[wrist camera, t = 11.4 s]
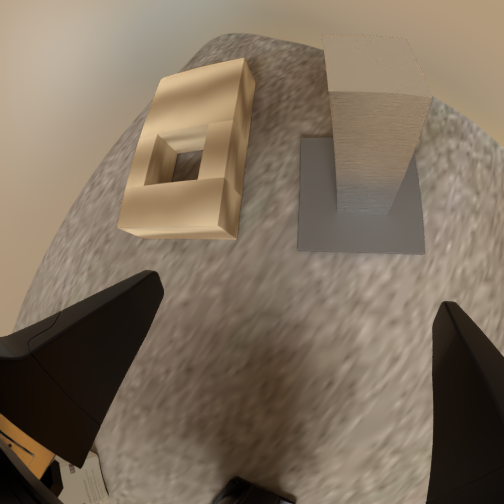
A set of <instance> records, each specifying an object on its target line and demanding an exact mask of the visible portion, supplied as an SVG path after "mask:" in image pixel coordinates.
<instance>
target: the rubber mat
mask: <svg viewBox="0 0 504 504" xmlns="http://www.w3.org/2000/svg"><path fill="white" fill-rule="evenodd" d="M297 249H298V251H321V252H355V253H388V254H420V255H423V254H424V253H425V240H424V225H423V213H422V203H421V194H420V187H419V180H418V173H417V167H416V161H415V156H414V153H413V155H412V158H411V160H410V163H409V165H408V168H407V170H406V173H405V175H404V178H403V180H402V182H401V185H400V187H399V189H398V192H397V194H396V196H395V199H394V201H393V203H392V205H391V207H390V210H389V212H388V214H382V213H354V212H337V185H336V166H335V151H334V139H333V137H317V138H301V173H300V204H299V227H298V246H297Z"/></svg>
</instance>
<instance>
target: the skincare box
mask: <svg viewBox="0 0 504 504" xmlns="http://www.w3.org/2000/svg"><path fill="white" fill-rule="evenodd" d="M55 459H56V460H57V461H58V462H59V465H60V471H61V477H62V482H63V487H64V489H63V490H62V492H61V494H60V495H59V497H58V499H60V500H61V501H62V502H63V503H64V504H96V503H99V502H101V501H103V500H105V499H107V498H108V494H107V491H106V489H105V485H104V482H103V478H102V475H101V470H100V465H99V459H98V456H97V454H95V453H93V452H91V451H89V453H88V456H87V458H86V460H85V463H84V465H83V467H82V468H81V469H79V468H77V467H75V466H74V465H72V464H70V463H68V462H67V461H65V460H63V459H62V458H60V457H58V456H57V455H56V457H55Z"/></svg>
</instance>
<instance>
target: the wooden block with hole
mask: <svg viewBox="0 0 504 504" xmlns="http://www.w3.org/2000/svg"><path fill="white" fill-rule="evenodd" d="M254 91H255V80H254V78H253V76H252V74H251V71H250V69H249V67H248V65H247V63H246V60H245V58H240V59H235V60H230V61H225V62H220V63H216V64H211V65H207V66H203V67H199V68H195V69H192V70H188V71H184V72H181V73H178V74H174V75H171V76H168V77H165V78H162V79H161V81H160V84H159V86H158V89H157V91H156V94H155V96H154V99H153V101H152V104H151V107H150V109H149V112H148V115H147V118H146V121H145V124H144V127H143V130H142V133H141V136H140V139H139V142H138V145H137V149H136V152H135V155H134V159H133V162H132V166H131V169H130V173H129V177H128V181H127V185H126V189H125V193H124V197H123V201H122V206H121V210H120V215H119V220H118V225H117V228H119V229H121V230H124V231H126V232H129V233H131V234H133V235H136V236H138V237H141V238H143V239H237V237H238V227H239V218H240V209H241V200H242V191H243V182H244V173H245V164H246V156H247V147H248V139H249V131H250V123H251V115H252V107H253V99H254ZM198 150H203V154H202V159H201V164H200V170H199V175H198V180H189V181H179V182H172V178H173V173H174V168H175V164H176V159H177V155H178V154H179V153H185V152H192V151H198Z"/></svg>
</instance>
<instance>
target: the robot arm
mask: <svg viewBox="0 0 504 504" xmlns="http://www.w3.org/2000/svg"><path fill="white" fill-rule="evenodd" d="M163 296H164V289H163V286H162V283H161V280H160V277H159V275H158V273H157V272H156V271H152V270H145V271H142V272H140V273H138V274H136V275H134V276H132V277H130V278H128V279H125V280H123V281H121V282H119V283H117V284H115V285H113V286H111V287H109V288H107V289H105V290H103V291H100V292H98V293H96V294H94V295H92V296H90V297H88V298H86V299H84V300H82V301H80V302H78V303H76V304H74V305H72V306H70V307H68V308H66V309H64V310H62V311H60V312H58V313H56V314H54V315H52V316H50V317H48V318H46V319H44V320H42V321H40V322H37V323H35V324H33V325H31V326H28V327H26V328H24V329H22V330H19V331H17V332H15V333H12V334H10V335H8V336H4V337H0V504H64V503H63V502H62V501H61V500H60V499H58V497H59V495H60V494H61V492H62V490H63V489H64V487H63V482H62V477H61V471H60V465H59V462H58V461H57V460H56V459H55V457H56V455H57V456H58V457H60V458H62V459H63V460H65V461H67V462H68V463H70V464H72V465H74V466H75V467H77V468H79V469H81V468H82V467H83V465H84V463H85V460H86V458H87V456H88V453H89V451H90V449H91V447H92V444H93V442H94V440H95V438H96V435H97V433H98V431H99V429H100V427H101V426H100V425H101V424H102V422H103V420H104V418H105V416H106V414H107V412H108V409H109V407H110V405H111V403H112V401H113V399H114V397H115V395H116V393H117V391H118V389H119V387H120V385H121V383H122V381H123V379H124V377H125V375H126V373H127V371H128V369H129V367H130V365H131V364H132V362H133V360H134V358H135V356H136V354H137V352H138V350H139V348H140V346H141V345H142V343H143V341H144V339H145V337H146V335H147V333H148V331H149V329H150V327H151V324H152V322H153V320H154V317H155V315H156V313H157V310H158V308H159V306H160V303H161V301H162V299H163ZM432 340H433V355H432V383H433V446H432V460H431V471H430V479H429V487H428V494H427V501H426V504H504V357H503V356H502V354H501V353H500V352H499V351H498V349H497V348H496V347H495V346H494V345H493V343H492V342H491V341H490V340H489V339H488V337H487V336H486V335H485V334H484V333H483V332H482V331H481V329H480V328H479V327H478V326H477V325H476V324H475V323H474V322H473V320H472V319H471V318H470V317H469V316H468V315H467V314H466V313H465V312H464V311H463V310H462V309H461V308H460V306H459V305H458V304H457V303H456V302H453V301H444V302H442V303H441V305H440V307H439V310H438V312H437V315H436V317H435V319H434V322H433V326H432ZM235 481H237V482H238V483H237V482H235ZM213 504H295V503H294V502H292V501H290V500H287V499H285V498H282V497H280V496H277V495H275V494H273V493H270V492H268V491H266V490H264V489H261V488H259V487H257V486H255V485H253V484H251V483H249V482H247V481H245V480H243V479H241V478H239V477H233V478H232V479H231V480H230V481H229V483H228V484H227V486H226V487H225V488H224V490H223V491H222V493H221V494H220V495H219V497H218V498H217V499H216V501H215V502H214V503H213Z"/></svg>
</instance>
